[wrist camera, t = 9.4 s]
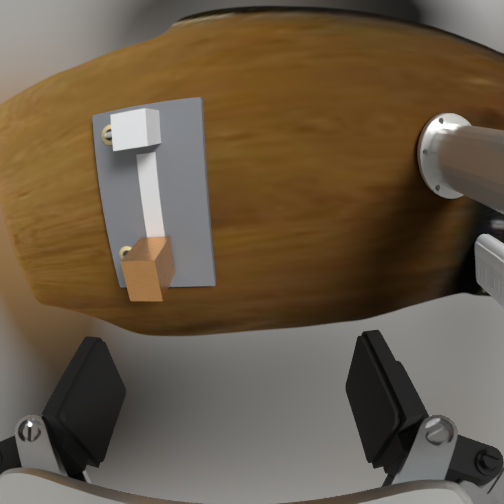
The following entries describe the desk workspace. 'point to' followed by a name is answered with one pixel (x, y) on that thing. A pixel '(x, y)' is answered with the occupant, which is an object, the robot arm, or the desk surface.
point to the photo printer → (490, 266)
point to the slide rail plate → (157, 184)
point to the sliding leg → (149, 269)
